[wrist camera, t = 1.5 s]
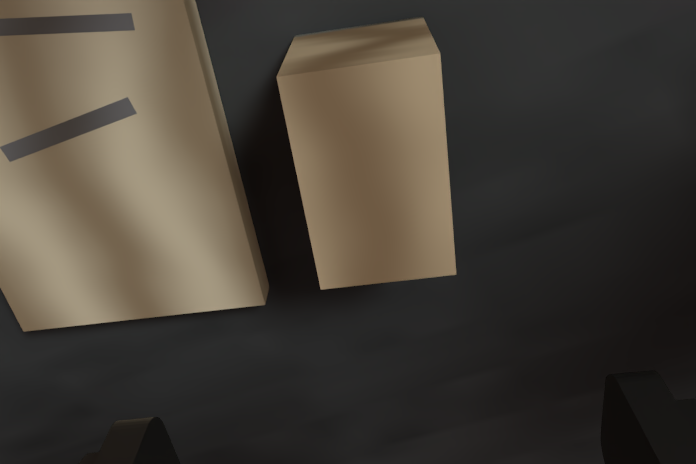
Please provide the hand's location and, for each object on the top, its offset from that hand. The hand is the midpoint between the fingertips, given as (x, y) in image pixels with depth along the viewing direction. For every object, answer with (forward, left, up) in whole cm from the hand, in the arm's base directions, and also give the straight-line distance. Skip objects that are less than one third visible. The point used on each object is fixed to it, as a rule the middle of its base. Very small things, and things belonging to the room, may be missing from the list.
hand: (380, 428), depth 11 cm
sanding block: (0, 0, -17) cm, 17 cm away
